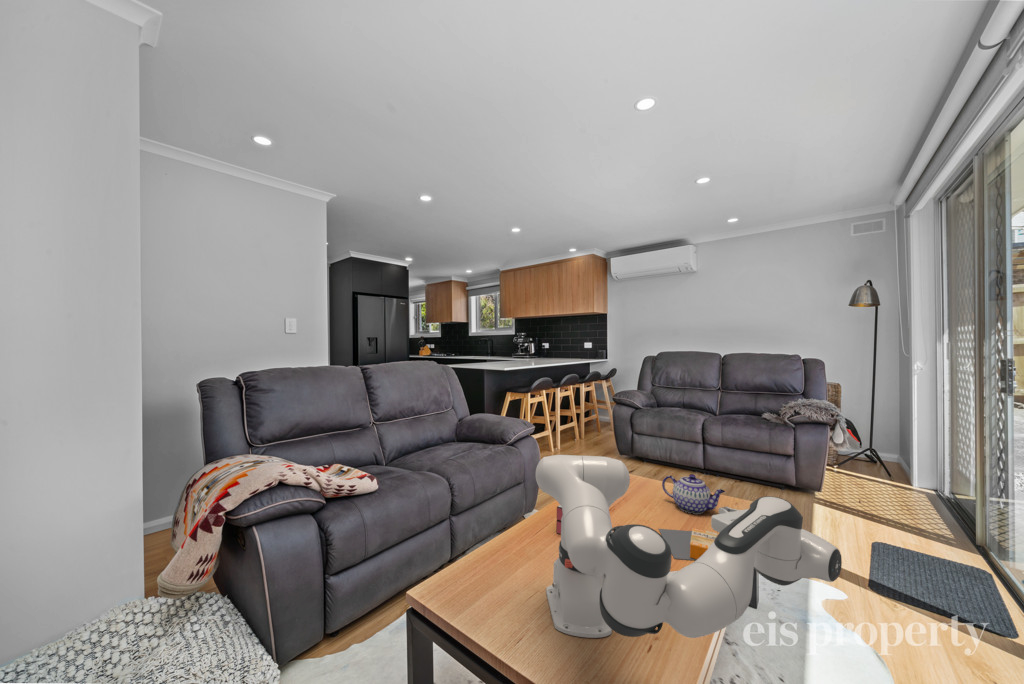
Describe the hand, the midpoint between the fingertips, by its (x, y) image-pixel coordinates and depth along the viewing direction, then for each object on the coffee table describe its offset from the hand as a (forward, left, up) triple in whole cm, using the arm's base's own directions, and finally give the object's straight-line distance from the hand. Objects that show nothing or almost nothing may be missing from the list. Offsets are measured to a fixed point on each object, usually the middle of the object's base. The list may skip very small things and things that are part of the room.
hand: (722, 509), depth 113 cm
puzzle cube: (+25, +42, -23) cm, 54 cm away
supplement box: (+11, +1, -20) cm, 23 cm away
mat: (+22, +3, -22) cm, 32 cm away
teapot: (+53, -9, -23) cm, 59 cm away
